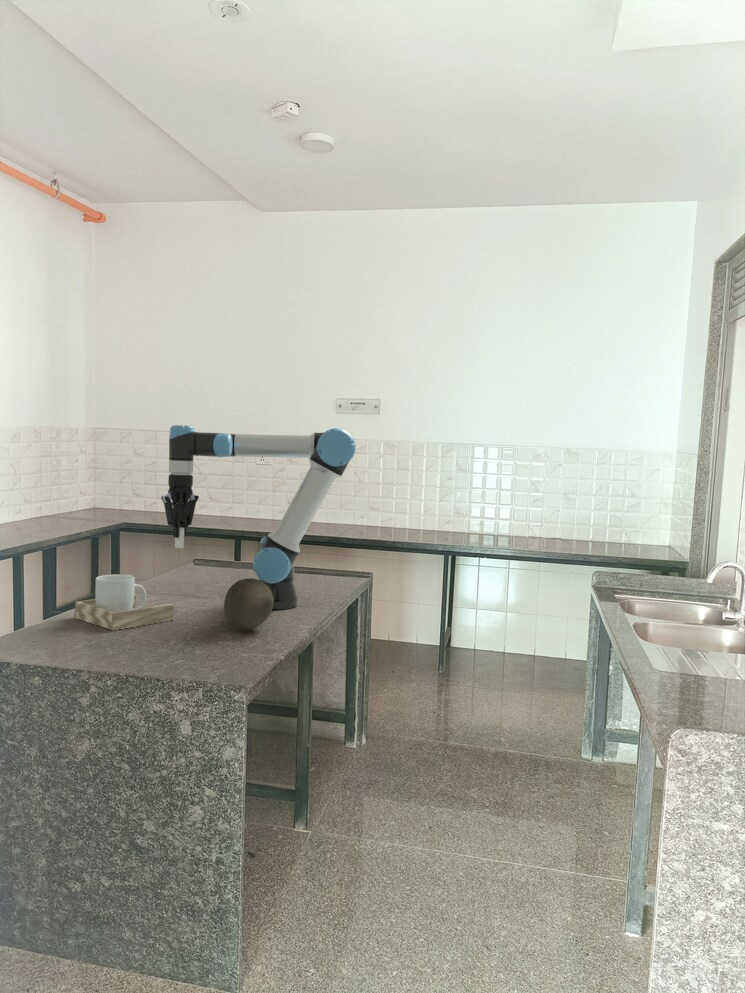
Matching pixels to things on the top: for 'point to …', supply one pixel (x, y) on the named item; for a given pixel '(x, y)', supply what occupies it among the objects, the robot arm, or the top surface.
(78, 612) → the corral
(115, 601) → the mug
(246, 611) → the cantaloupe
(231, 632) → the top surface
